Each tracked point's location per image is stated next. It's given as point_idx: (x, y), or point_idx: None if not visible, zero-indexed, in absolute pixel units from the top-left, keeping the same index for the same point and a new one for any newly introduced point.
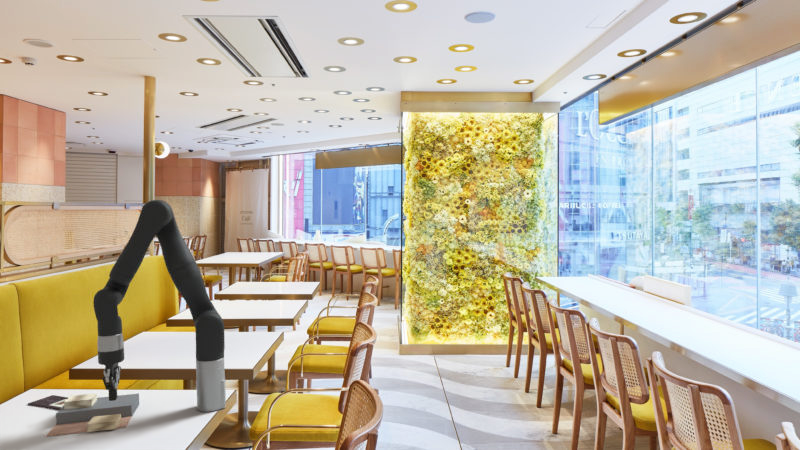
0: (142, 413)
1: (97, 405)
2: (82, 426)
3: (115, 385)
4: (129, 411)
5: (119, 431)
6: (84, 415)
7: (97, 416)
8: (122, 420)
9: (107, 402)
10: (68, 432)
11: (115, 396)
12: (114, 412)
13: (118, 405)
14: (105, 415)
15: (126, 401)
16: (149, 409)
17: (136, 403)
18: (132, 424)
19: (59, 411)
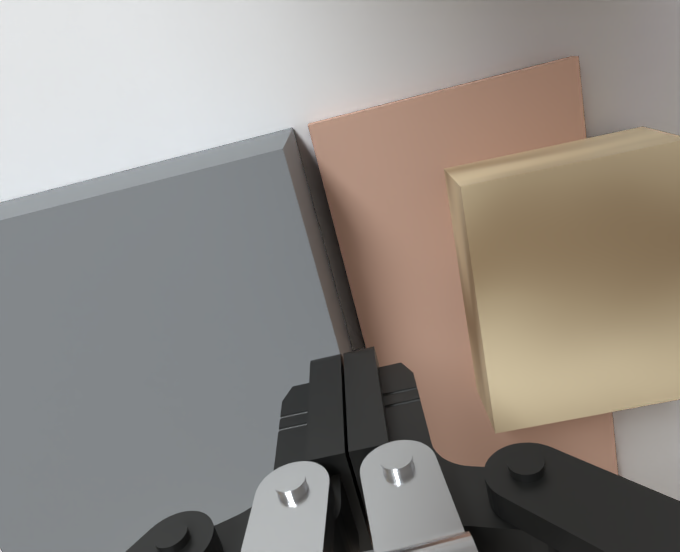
0: (182, 54)
1: None
2: None
3: (445, 490)
4: (295, 158)
5: (668, 73)
6: None
7: (500, 399)
8: (418, 168)
9: (179, 473)
10: None
11: (379, 376)
12: (333, 306)
13: (280, 312)
14: (483, 335)
15: (139, 283)
16: (56, 24)
17: (29, 202)
18: (500, 17)
19: None
